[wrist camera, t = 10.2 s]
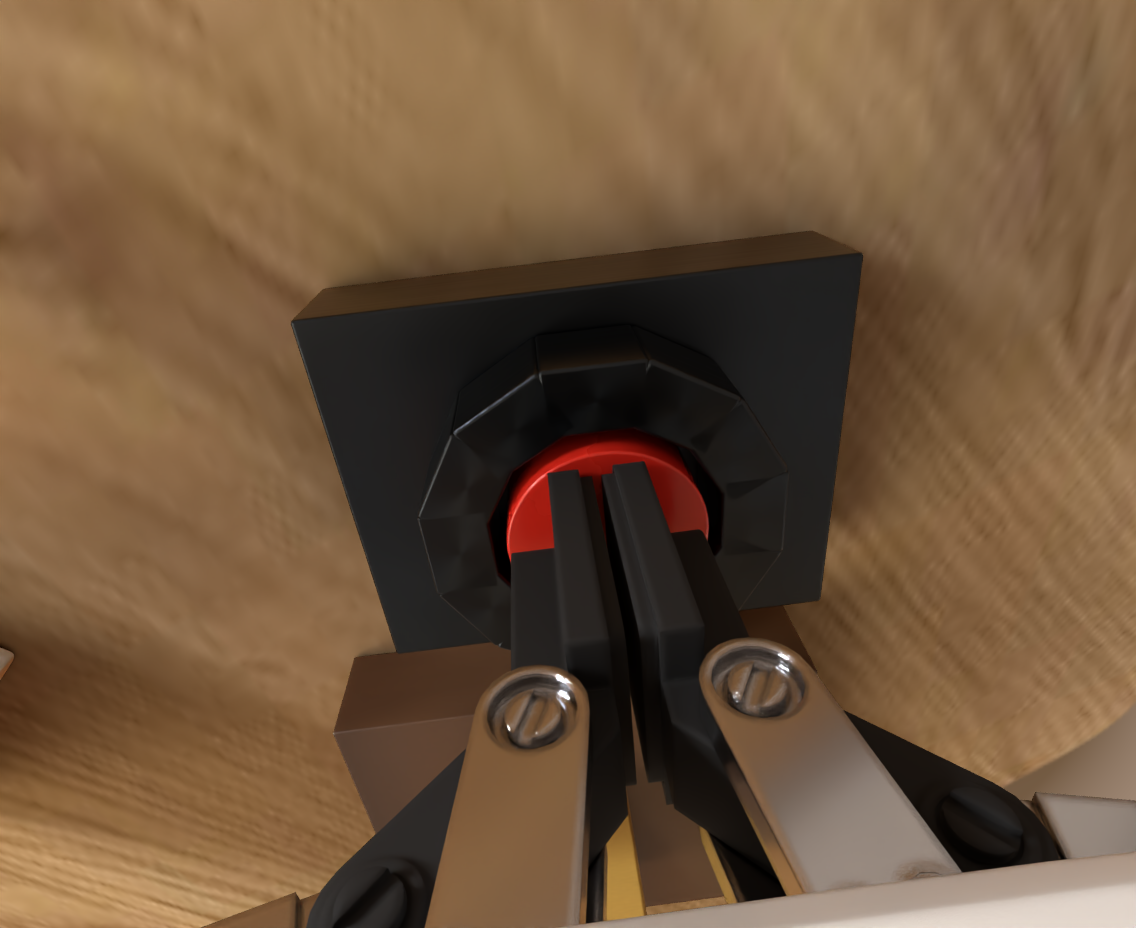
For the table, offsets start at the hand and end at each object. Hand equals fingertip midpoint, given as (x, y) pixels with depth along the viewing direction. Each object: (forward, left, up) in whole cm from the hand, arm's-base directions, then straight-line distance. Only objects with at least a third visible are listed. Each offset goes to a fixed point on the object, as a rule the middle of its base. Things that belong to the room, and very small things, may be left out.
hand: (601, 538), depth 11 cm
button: (0, 0, -2) cm, 2 cm away
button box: (0, 0, -4) cm, 4 cm away
